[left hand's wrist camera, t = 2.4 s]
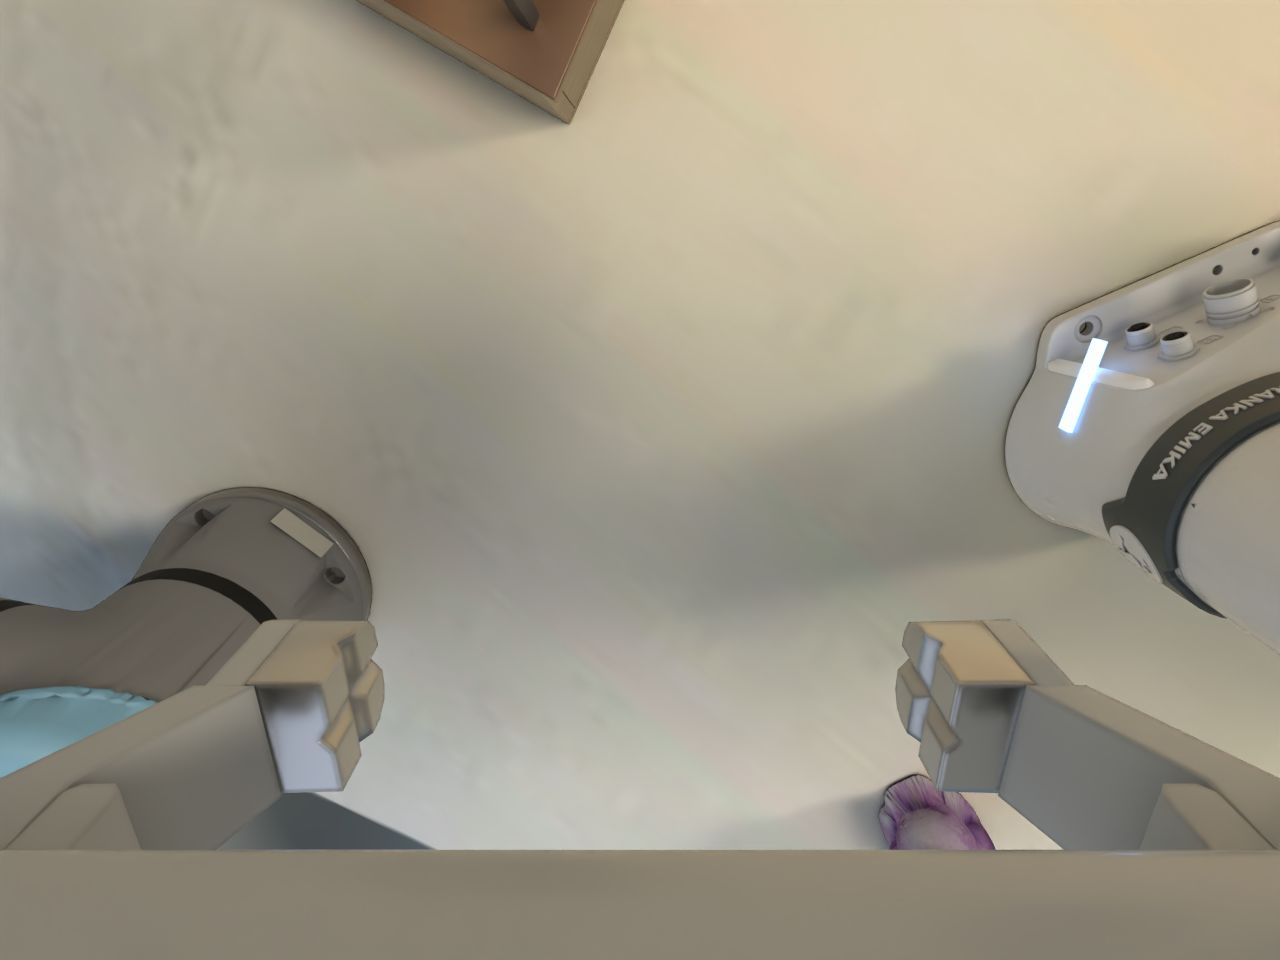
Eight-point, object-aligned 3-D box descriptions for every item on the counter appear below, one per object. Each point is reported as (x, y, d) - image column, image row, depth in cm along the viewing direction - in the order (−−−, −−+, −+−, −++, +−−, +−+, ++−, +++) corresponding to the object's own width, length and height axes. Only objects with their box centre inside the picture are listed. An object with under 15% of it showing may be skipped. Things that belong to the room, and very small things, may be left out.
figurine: (877, 764, 57) (951, 944, 43) (994, 782, 57) (1105, 965, 44) (845, 846, 60) (904, 1037, 46) (956, 862, 61) (1047, 1056, 47)
